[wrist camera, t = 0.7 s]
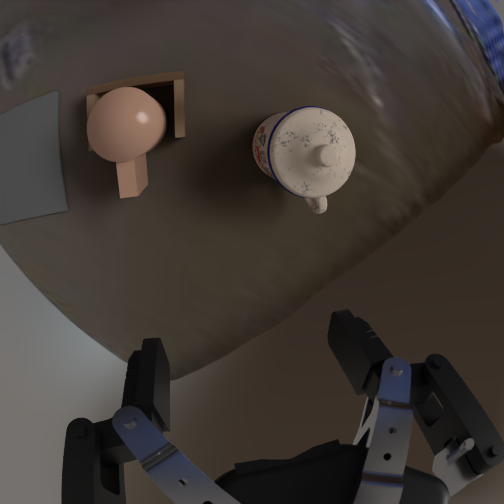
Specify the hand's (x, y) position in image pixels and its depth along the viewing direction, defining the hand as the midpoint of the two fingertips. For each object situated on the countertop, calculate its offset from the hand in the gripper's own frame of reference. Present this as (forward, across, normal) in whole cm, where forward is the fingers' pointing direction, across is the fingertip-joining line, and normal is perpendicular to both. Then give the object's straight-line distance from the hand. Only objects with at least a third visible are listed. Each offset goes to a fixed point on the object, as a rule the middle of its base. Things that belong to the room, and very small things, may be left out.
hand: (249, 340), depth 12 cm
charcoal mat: (+24, +26, -10) cm, 37 cm away
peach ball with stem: (+24, +8, -9) cm, 27 cm away
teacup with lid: (+24, -10, -5) cm, 26 cm away
